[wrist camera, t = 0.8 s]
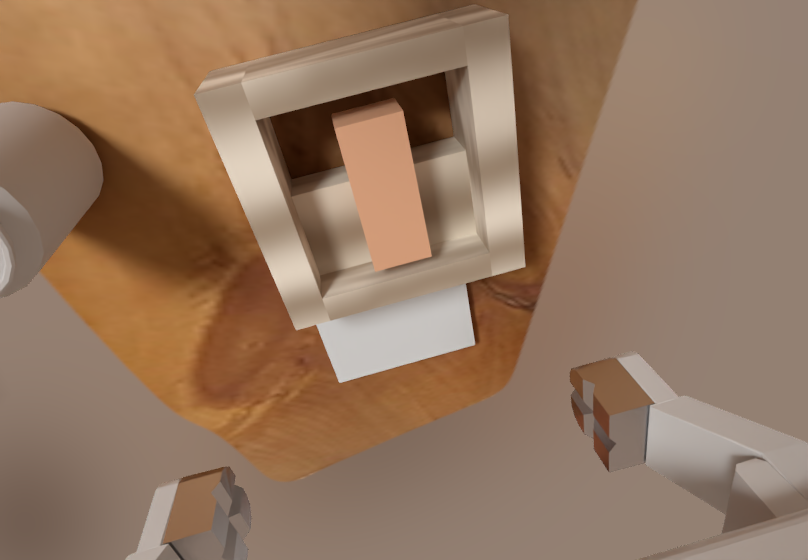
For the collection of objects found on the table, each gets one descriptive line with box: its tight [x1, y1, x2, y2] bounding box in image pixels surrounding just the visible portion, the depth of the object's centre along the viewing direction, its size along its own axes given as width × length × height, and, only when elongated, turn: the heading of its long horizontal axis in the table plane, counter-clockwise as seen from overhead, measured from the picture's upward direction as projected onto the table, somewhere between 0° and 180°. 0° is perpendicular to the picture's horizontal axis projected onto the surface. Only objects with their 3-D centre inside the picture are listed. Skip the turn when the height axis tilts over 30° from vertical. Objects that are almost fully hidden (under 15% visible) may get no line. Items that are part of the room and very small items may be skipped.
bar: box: [331, 98, 432, 272], centre depth 32 cm, size 10×4×3 cm, turn 11°
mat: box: [317, 283, 475, 383], centre depth 44 cm, size 9×13×1 cm
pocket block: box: [194, 4, 525, 330], centre depth 33 cm, size 16×17×6 cm
